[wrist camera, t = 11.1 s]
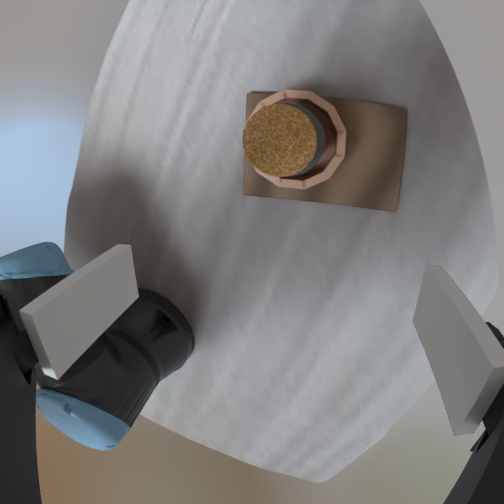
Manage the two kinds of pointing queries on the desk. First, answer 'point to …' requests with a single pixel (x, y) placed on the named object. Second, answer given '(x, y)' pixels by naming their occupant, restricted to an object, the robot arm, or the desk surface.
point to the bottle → (283, 140)
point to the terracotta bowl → (333, 137)
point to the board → (349, 159)
